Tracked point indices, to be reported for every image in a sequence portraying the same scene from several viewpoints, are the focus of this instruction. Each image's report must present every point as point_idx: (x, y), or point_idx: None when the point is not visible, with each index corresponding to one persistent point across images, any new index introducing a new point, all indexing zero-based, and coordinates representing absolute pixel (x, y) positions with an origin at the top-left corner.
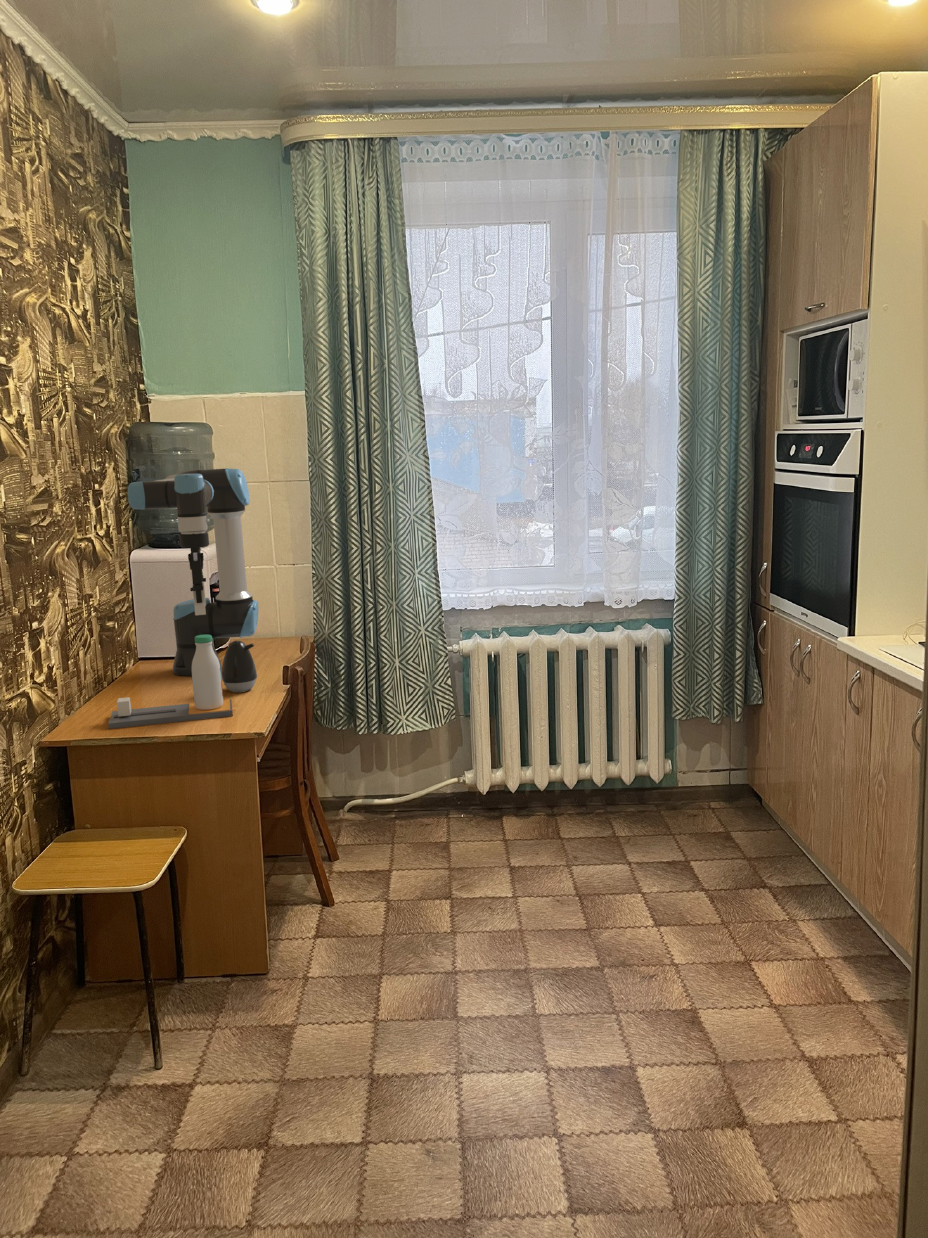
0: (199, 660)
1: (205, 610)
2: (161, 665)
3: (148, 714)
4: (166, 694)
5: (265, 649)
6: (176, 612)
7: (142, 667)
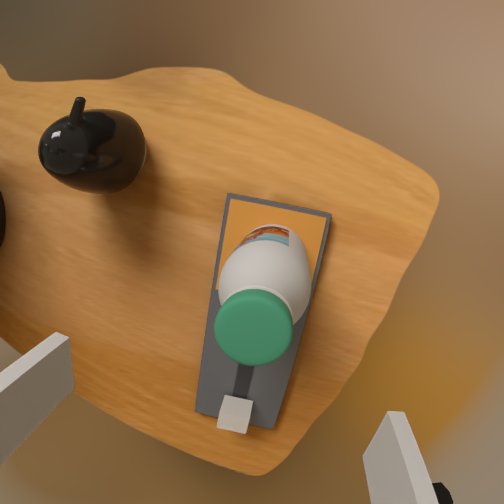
0: (294, 322)
1: (404, 428)
2: None
3: (253, 372)
4: (88, 299)
5: None
6: None
7: None
